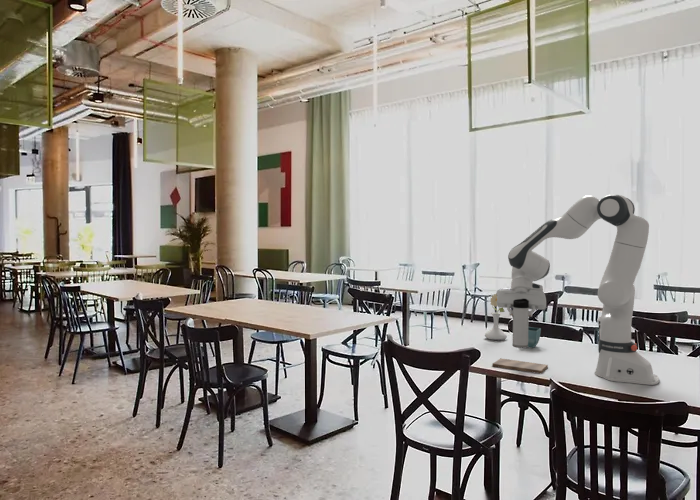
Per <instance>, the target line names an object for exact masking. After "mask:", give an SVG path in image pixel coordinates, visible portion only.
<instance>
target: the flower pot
mask: <svg viewBox="0 0 700 500" xmlns="http://www.w3.org/2000/svg"><path fill="white" fill-rule="evenodd" d="M541 332H542V328H541V327H533V326H532V327H531V326H528V347H527V348H532V349H533V348H536V346H538V343H539V341H540V337H541Z"/></svg>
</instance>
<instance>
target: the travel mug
mask: <svg viewBox="0 0 700 500" xmlns="http://www.w3.org/2000/svg"><path fill="white" fill-rule="evenodd" d="M528 305H529V300H527V299H517V300H514V301H513V308H512V310H513V316H512V342H511V343H512V344H511V345H512V347H513V348H516V349H517V348H518V349H526V348H529V347H528V327H529V320H530V318H529V311H530V309H529V306H528Z"/></svg>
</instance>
